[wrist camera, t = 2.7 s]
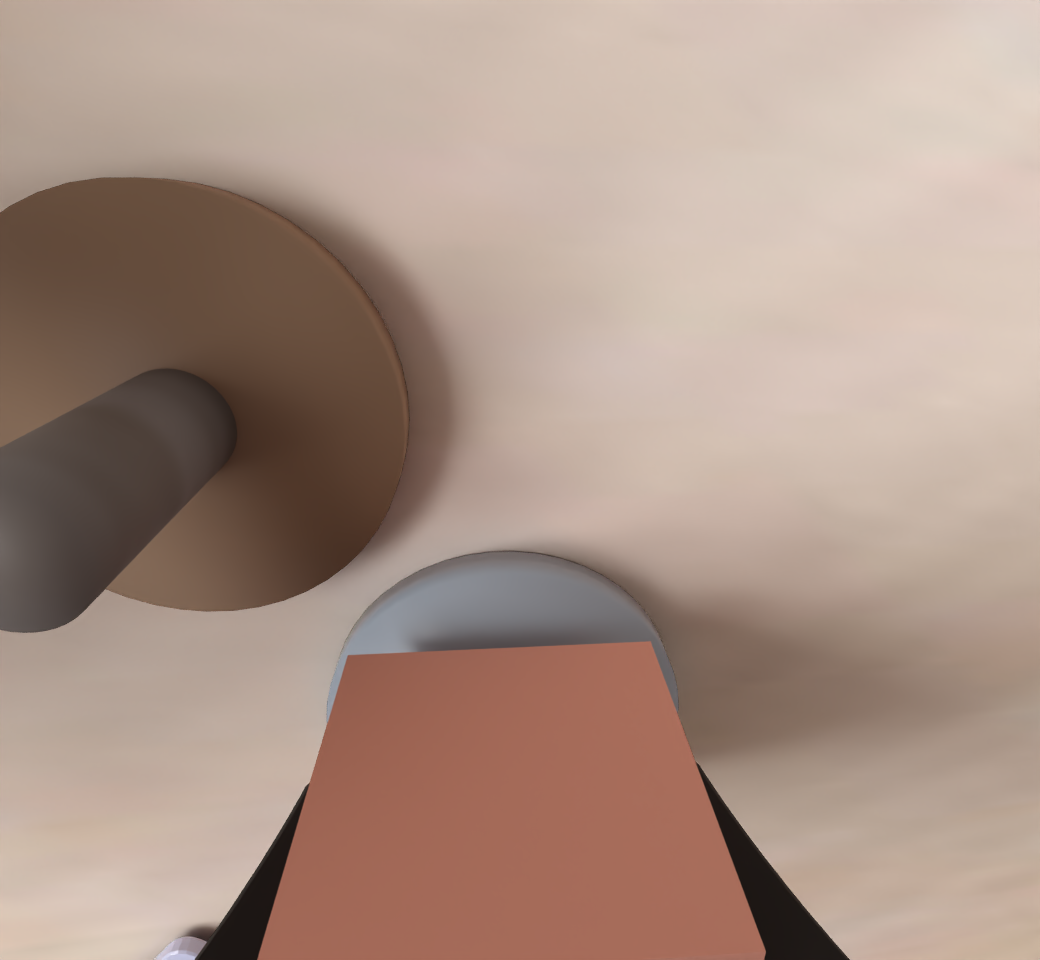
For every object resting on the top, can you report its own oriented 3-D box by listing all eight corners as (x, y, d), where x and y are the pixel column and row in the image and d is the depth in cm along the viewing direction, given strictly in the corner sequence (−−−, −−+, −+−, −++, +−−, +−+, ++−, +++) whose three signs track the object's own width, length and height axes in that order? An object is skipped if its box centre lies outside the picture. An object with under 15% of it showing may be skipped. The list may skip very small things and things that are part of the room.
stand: (520, 852, 16) (533, 1109, 11) (269, 716, 13) (164, 967, 9) (735, 674, 14) (853, 901, 9) (482, 482, 12) (480, 660, 7)
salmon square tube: (633, 845, 13) (712, 1187, 9) (380, 860, 13) (323, 1219, 8) (650, 641, 11) (765, 952, 7) (347, 654, 11) (249, 984, 6)
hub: (266, 646, 13) (152, 884, 8) (-101, 433, 11) (-510, 601, 6) (493, 385, 11) (499, 515, 6) (98, 61, 9) (-293, -72, 4)
